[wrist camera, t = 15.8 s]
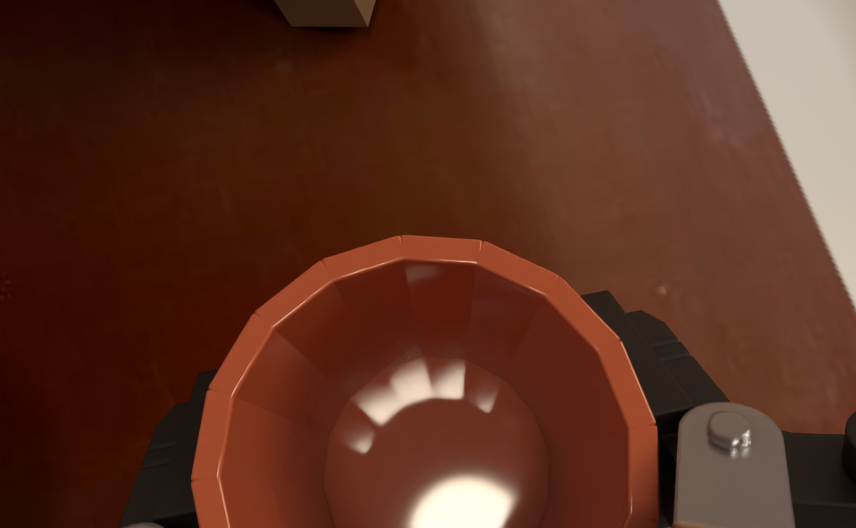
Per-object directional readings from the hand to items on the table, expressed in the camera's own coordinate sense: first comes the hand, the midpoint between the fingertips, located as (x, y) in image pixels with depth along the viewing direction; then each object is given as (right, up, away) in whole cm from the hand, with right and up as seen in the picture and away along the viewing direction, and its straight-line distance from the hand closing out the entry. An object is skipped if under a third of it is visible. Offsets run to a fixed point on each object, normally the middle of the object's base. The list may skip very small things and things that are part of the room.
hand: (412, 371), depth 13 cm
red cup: (0, -3, +4) cm, 5 cm away
